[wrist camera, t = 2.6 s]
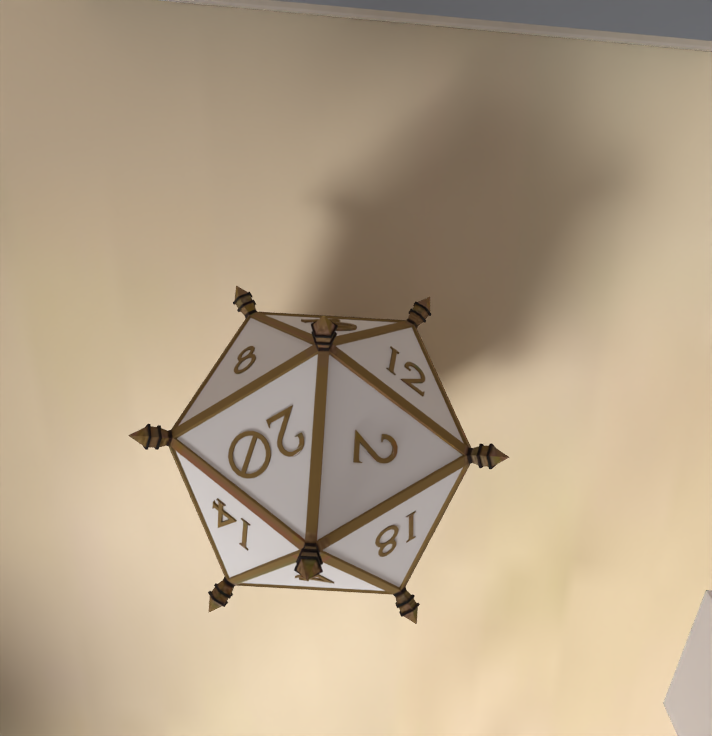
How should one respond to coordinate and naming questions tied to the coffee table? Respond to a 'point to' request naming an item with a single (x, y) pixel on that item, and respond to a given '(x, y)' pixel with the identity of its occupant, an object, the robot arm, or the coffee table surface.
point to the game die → (321, 453)
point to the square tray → (526, 17)
